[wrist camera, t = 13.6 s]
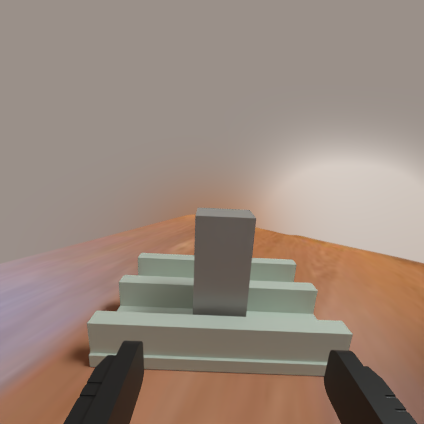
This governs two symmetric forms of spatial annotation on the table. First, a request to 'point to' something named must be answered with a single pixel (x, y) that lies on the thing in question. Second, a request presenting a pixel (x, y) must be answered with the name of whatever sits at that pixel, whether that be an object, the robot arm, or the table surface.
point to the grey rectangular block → (222, 261)
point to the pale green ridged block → (218, 322)
